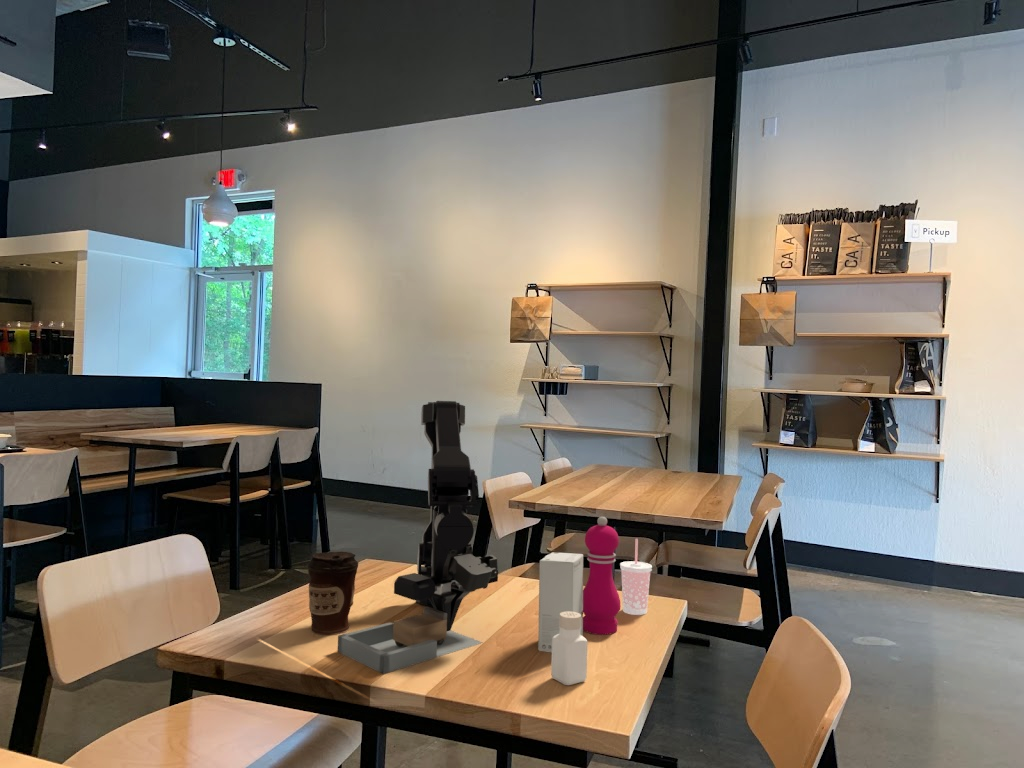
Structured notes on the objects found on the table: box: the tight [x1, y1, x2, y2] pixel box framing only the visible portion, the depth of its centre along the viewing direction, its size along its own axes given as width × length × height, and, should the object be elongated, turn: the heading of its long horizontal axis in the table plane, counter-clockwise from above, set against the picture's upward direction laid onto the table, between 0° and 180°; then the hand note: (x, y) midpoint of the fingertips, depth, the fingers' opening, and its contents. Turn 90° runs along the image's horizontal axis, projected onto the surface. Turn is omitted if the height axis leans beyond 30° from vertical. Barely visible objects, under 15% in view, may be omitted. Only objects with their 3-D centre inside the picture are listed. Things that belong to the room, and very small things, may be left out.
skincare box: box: [537, 551, 584, 653], centre depth 120 cm, size 8×6×15 cm
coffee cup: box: [307, 551, 359, 636], centre depth 124 cm, size 9×8×13 cm
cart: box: [393, 606, 447, 646], centre depth 117 cm, size 7×5×5 cm
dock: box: [337, 622, 484, 675], centre depth 116 cm, size 20×12×3 cm, turn 136°
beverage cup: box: [619, 538, 653, 616], centre depth 141 cm, size 6×6×14 cm
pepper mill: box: [583, 516, 622, 636], centre depth 129 cm, size 7×7×20 cm
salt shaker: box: [550, 611, 588, 686], centre depth 106 cm, size 4×4×10 cm
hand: (446, 630), depth 122 cm, fingers closed
